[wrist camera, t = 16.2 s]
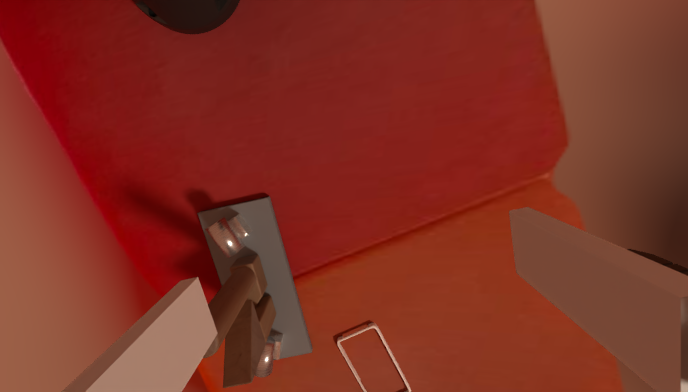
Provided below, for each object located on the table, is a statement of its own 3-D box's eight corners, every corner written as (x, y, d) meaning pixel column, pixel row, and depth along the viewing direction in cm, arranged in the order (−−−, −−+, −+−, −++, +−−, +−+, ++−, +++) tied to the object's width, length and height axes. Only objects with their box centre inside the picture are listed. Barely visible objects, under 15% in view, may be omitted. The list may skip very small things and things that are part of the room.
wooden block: (255, 318, 51) (209, 418, 34) (236, 257, 49) (176, 330, 31) (277, 314, 51) (242, 412, 33) (259, 252, 49) (211, 323, 31)
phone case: (411, 387, 56) (374, 319, 53) (412, 394, 54) (375, 324, 52) (373, 403, 56) (335, 336, 54) (374, 410, 55) (335, 342, 52)
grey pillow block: (212, 223, 48) (197, 234, 43) (235, 208, 47) (223, 217, 42) (232, 249, 49) (220, 263, 44) (255, 235, 48) (245, 247, 43)
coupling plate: (200, 211, 48) (197, 213, 47) (269, 196, 48) (268, 197, 47) (249, 360, 54) (248, 364, 53) (312, 348, 53) (311, 352, 52)
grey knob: (256, 326, 51) (247, 346, 47) (283, 329, 52) (277, 350, 47) (254, 352, 52) (245, 375, 48) (281, 355, 53) (274, 378, 48)
